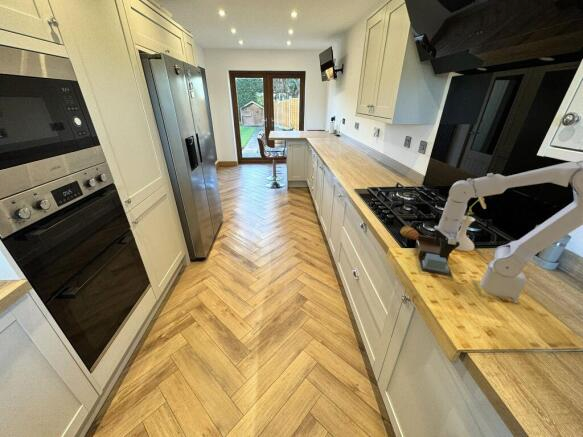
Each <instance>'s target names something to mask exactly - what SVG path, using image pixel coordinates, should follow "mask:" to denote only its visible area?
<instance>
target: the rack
mask: <svg viewBox="0 0 583 437" xmlns="http://www.w3.org/2000/svg"><path fill="white" fill-rule="evenodd" d="M414 247H415V250H416V254H417V257H418V263H419V267H420V271H421V272H423V273H429V274H434V275H438V276H443V277H448V278H454V276H453V273H452V271H451V268H450V266H449V264H448V263H447V266H448V268H449V273H445V272H440V271H435V270H430V269H424V267H423V263H422V261H423V260H425V257H423V254H426V253H429V254H435V255H439V252H440V246H435V236H428V235H423V234H422V235H421V234H420V235H418V238H417V240H416V242H415V246H414ZM449 258H450V255H449V256H448V257H447V258H446V260H447V262H448V260H449Z"/></svg>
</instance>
